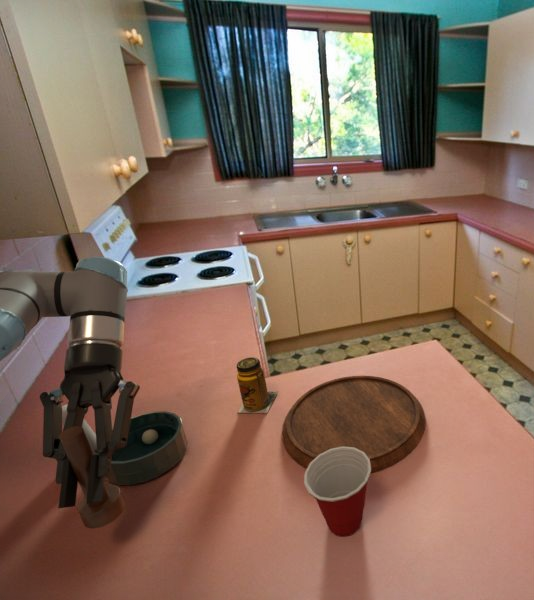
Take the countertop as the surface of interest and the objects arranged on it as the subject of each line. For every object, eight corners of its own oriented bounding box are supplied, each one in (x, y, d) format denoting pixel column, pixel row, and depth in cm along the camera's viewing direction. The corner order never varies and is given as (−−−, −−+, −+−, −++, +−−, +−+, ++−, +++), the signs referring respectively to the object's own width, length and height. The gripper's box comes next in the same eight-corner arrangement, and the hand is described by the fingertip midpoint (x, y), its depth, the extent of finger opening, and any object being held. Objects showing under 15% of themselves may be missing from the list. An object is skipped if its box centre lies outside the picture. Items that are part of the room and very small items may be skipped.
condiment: (237, 413, 101) (227, 370, 96) (250, 391, 108) (242, 351, 104) (267, 413, 100) (258, 370, 95) (278, 392, 108) (271, 351, 103)
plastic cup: (306, 507, 76) (298, 455, 71) (365, 488, 79) (360, 438, 74) (318, 562, 66) (309, 506, 62) (383, 538, 70) (380, 484, 65)
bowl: (94, 496, 79) (83, 472, 77) (117, 441, 93) (109, 419, 90) (182, 475, 83) (174, 452, 81) (192, 426, 97) (186, 405, 94)
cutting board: (317, 504, 76) (315, 493, 75) (263, 411, 101) (261, 402, 100) (454, 433, 92) (454, 424, 91) (379, 368, 117) (378, 360, 116)
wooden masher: (77, 532, 64) (39, 450, 58) (90, 503, 69) (56, 424, 62) (119, 522, 65) (86, 441, 59) (129, 494, 70) (100, 416, 64)
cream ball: (142, 448, 90) (138, 437, 89) (145, 439, 92) (142, 428, 91) (158, 445, 91) (154, 434, 89) (161, 436, 93) (157, 425, 92)
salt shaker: (108, 457, 89) (88, 406, 83) (76, 473, 85) (53, 421, 80) (100, 444, 92) (80, 394, 87) (68, 459, 88) (46, 408, 83)
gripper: (157, 348, 74) (151, 493, 66) (54, 360, 71) (35, 513, 63) (138, 335, 67) (129, 495, 59) (24, 347, 65) (-2, 518, 56)
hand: (80, 504), depth 61 cm, fingers closed on wooden masher, 3 cm apart
